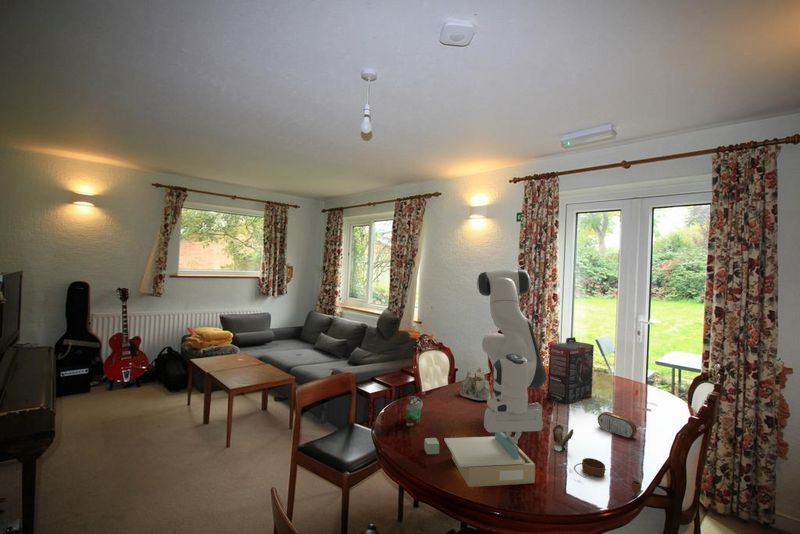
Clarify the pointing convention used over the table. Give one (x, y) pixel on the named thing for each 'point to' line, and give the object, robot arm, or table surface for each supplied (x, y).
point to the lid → (484, 450)
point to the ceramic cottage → (476, 386)
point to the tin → (617, 424)
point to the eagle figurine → (560, 438)
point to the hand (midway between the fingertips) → (512, 443)
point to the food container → (413, 411)
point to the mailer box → (499, 473)
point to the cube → (431, 446)
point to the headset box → (570, 371)
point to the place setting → (602, 472)
